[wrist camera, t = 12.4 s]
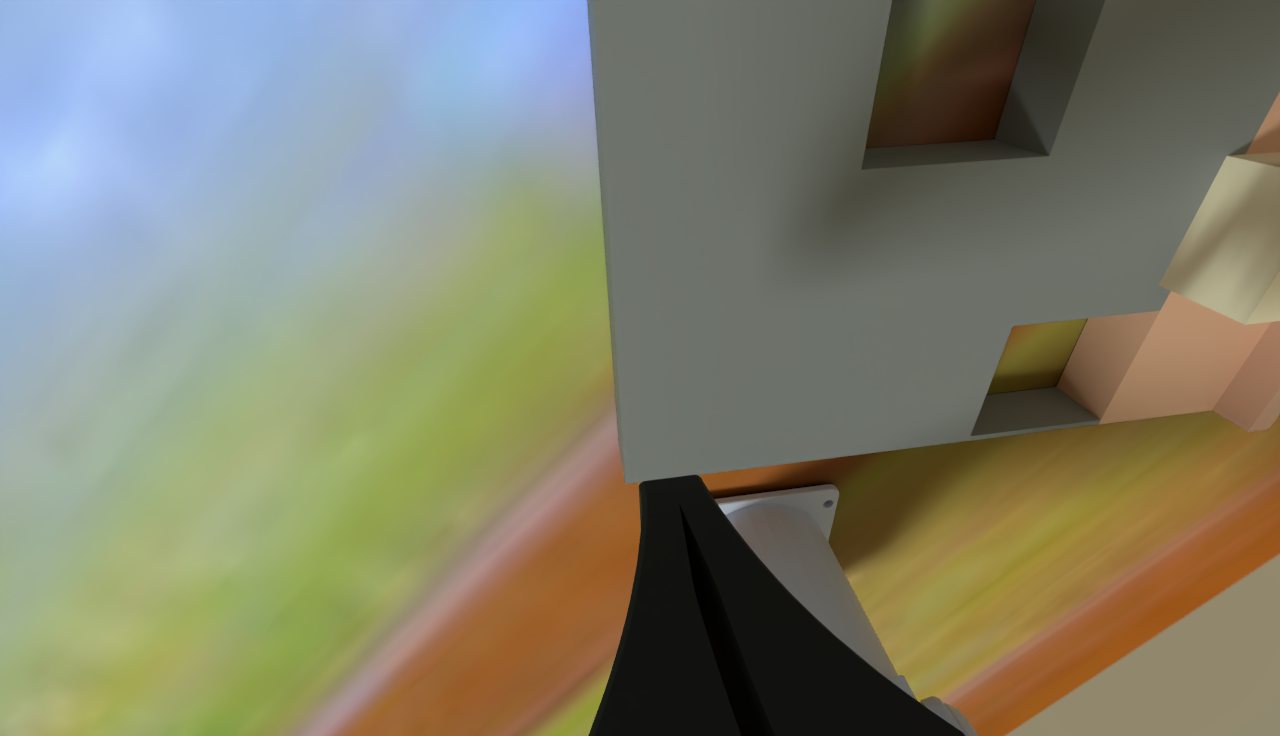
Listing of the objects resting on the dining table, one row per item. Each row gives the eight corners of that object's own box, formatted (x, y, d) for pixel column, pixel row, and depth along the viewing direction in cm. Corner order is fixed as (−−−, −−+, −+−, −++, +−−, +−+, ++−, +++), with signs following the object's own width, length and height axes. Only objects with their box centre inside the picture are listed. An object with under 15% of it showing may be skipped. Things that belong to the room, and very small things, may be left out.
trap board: (1178, 376, 27) (1268, 429, 23) (618, 442, 24) (630, 512, 21) (1454, -77, 17) (1671, -96, 14) (583, -51, 14) (594, -68, 11)
